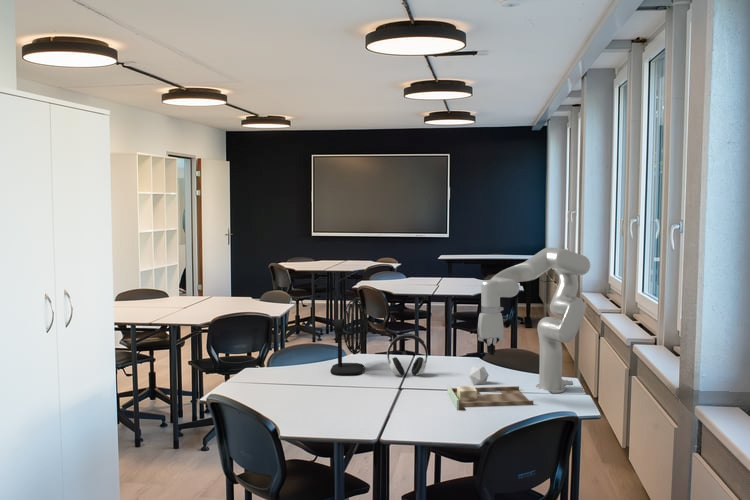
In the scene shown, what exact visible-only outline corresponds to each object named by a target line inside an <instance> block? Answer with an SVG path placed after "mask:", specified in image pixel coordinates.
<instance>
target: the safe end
mask: <svg viewBox="0 0 750 500" xmlns="http://www.w3.org/2000/svg"><path fill="white" fill-rule="evenodd" d="M451 388H452V387H451V386H450V384H449V385H447V394H446V395H447V396H448V398H449V400H450V401H451V403H452V404H453V406H454V408H455V409H456V410H457V411H460V410H459V399H458V398H457V396H456V395H455V393H454V392H453V390H452V389H451Z"/></svg>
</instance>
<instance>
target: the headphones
mask: <svg viewBox="0 0 750 500" xmlns="http://www.w3.org/2000/svg"><path fill="white" fill-rule="evenodd" d="M403 339H411V340H412V339H413V340H414V341H417V342H418V343H419V344H421V345H422V347H423V348H424V351H425V352H424V353H425V358H424V357H421V356H419V357H418V356H417V358H416V359H415V361H414V362H413V365H412V367H411V372H410V373H411V374H412V375H413V376H419V375H423V373H424V372H425V369H426V366H427V361H428V356H429V353H428V348H427V345H426V343H425V341H424V340H423V339H422V338H421V337H420V336H418V335H417V334H416V335H415V334H413V333H402V334H400V335H397V336H395V337H394V338H393V339H392V340H391V341H390V343H389V344H388V347H387V350H386V358H387V362H388V366H389V367H390V370H391V372H392V373H393V374H394V375H395V376H399V377H401V376H403V375H405V369H404V367H403V365H402V364H401V362H400V360H399V359H398V358H397V357H396V356H395V357H392V358H391V359H390V352H391V349H392V347H393V346H394V345H395V344H396V343H397V342H398V341H400V340H403Z"/></svg>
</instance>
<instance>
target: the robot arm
mask: <svg viewBox="0 0 750 500" xmlns="http://www.w3.org/2000/svg"><path fill="white" fill-rule="evenodd" d="M551 269H556V272H557V276H558V285H557V288H556V289H555V291H554V295H553V297H552V300H551V301H550V305H549V310H550V313H551V314H553V315H555V316H557V317H554V316H545V317H542V318H541V319H540V320H539V321H538V323H537V335H538V342H539V343H538V344H539V371H538V372H539V374H538V375H539V376H538V377H539V379H538V380H539V382H538V384H536V385H535V387H536V388H537V389H539V390H542V391H548V392H549V393H550V394H560V393H564V392H566V387H567V386H573V385H574V382H573V380H568V379H563V346H562V343H563V344H569V343H570V342H572V341H573V340H574V338H575V337H576V336H577V333H578V331H579V329H580V326H581V324H582V321H583V320H584V317H585V313H586V305H585V302H584V301H583V299H582V298H580V297H576V296H577V293H578V290H579V281H578V277H577V276H583V275H586V274H587V273H588V272H589V271H590V269H591V262H590V259H589V258H588V257H587V256H585V255H583V254H579V253H577V252H574V251H571V250H569V249H564V248H559V247H545V248H543V249H542V250H540V251H538V252H537V253H535V254H534V255H532V256H531V257H530V258H527V260H525V261H524V262H520V263H518V264H515V265H512V266H510V267H507V268H505V269H502V270H501V271H499V272H498V273H496V274H495V275H494V276H492V277H491V278H490V279H485V280H483V281H481V285H480V287H481V288H480V289H481V290H480V291H481V293H480V295H481V299H480V301H481V303H480V304H481V310H480V311H481V312H480V313H479V315H478V320H477V321H478V322H477V340H478V341H479V342H484V344H485V345H486V352H487V354H488V355H489V356H494V355H495V353H496V345H497V344H498V343H499V342H500V341H504V340H505V337H504V335H505V328H504V320H503V319H504V318H503V314H502V313H501V312H502V311H504V307H503V306H501V298H514V297H515V296H517V295H518V294H519V292H520V284H519V283H520V282H522V283H523V282H530V281H534V280H536V279H538V278H539V277H541V276H542V275H543V274H545V273H547V272H548V271H549V270H551ZM558 317H561V318H562V319H561V318H558ZM490 339H491V340H490Z"/></svg>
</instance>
